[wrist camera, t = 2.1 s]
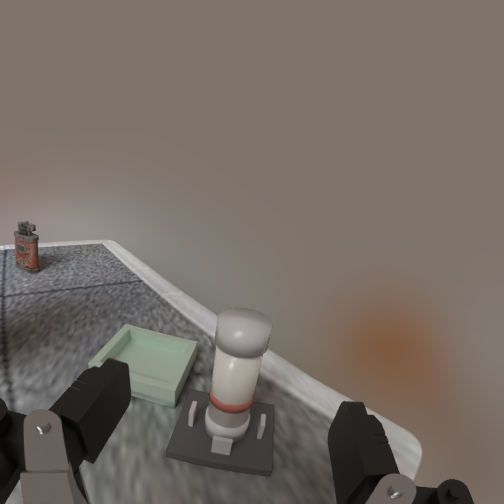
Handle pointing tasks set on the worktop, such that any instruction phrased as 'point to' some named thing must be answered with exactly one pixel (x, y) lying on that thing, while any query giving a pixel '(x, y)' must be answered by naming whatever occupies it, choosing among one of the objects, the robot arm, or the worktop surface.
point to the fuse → (236, 371)
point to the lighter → (26, 248)
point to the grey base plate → (223, 439)
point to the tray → (151, 362)
